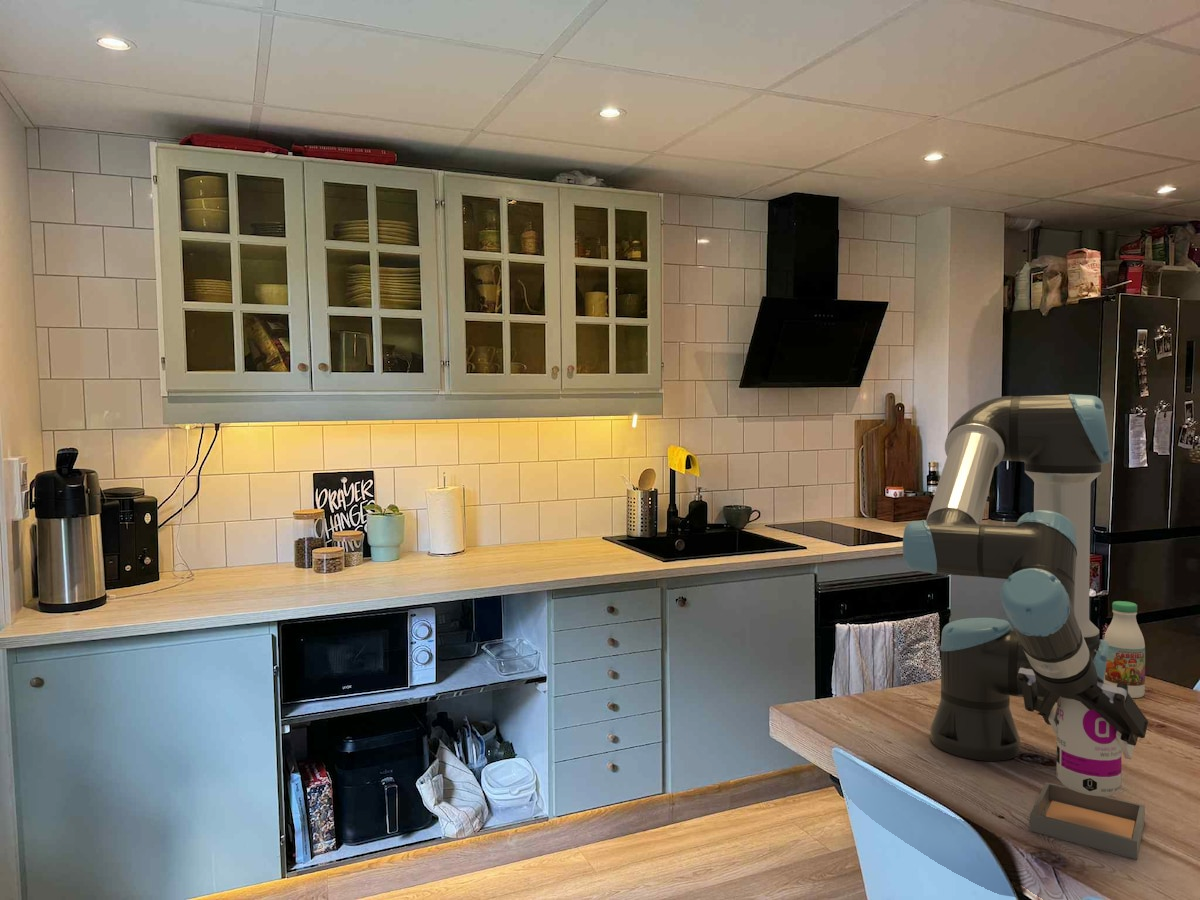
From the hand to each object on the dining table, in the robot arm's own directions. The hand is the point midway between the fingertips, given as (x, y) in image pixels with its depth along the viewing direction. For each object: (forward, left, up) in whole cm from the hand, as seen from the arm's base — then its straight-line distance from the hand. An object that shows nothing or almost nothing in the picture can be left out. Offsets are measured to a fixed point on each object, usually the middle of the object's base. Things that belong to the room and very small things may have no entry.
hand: (1096, 742), depth 122 cm
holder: (-1, -2, -12) cm, 12 cm away
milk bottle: (+22, +66, -12) cm, 70 cm away
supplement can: (-2, -3, -6) cm, 7 cm away
